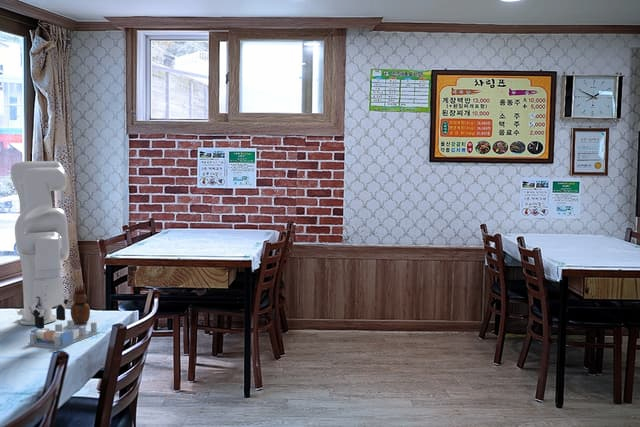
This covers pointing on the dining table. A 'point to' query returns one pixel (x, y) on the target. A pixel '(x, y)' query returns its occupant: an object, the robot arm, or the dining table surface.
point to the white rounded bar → (47, 335)
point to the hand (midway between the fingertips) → (50, 323)
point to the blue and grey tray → (64, 335)
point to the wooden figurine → (80, 307)
